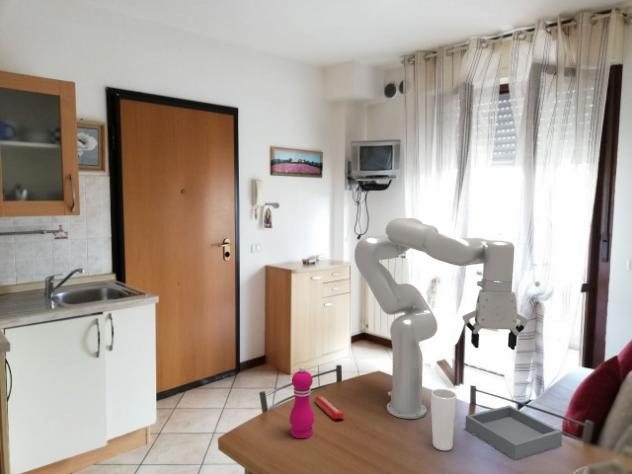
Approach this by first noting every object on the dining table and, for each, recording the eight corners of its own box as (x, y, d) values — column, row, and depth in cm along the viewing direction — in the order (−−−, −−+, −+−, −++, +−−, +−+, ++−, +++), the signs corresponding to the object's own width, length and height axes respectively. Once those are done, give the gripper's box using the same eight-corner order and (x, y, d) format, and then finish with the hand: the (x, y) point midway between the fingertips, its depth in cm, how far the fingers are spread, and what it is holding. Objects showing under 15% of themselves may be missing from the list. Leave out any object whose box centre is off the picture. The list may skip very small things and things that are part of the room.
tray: (465, 428, 132) (465, 415, 132) (509, 417, 140) (509, 405, 139) (515, 460, 116) (515, 445, 116) (561, 445, 123) (562, 431, 123)
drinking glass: (456, 454, 118) (458, 399, 117) (430, 451, 120) (431, 397, 119) (453, 441, 125) (455, 389, 124) (429, 438, 126) (430, 387, 125)
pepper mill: (284, 433, 128) (284, 366, 127) (301, 425, 133) (302, 360, 132) (301, 442, 123) (302, 372, 122) (319, 433, 129) (320, 366, 127)
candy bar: (345, 421, 137) (345, 412, 137) (335, 423, 135) (335, 414, 135) (322, 401, 151) (322, 392, 151) (313, 403, 150) (313, 394, 149)
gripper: (468, 287, 117) (465, 350, 118) (535, 290, 116) (531, 353, 117) (461, 282, 125) (457, 341, 126) (523, 284, 124) (519, 344, 125)
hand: (493, 347), depth 122 cm, fingers open, 9 cm apart
